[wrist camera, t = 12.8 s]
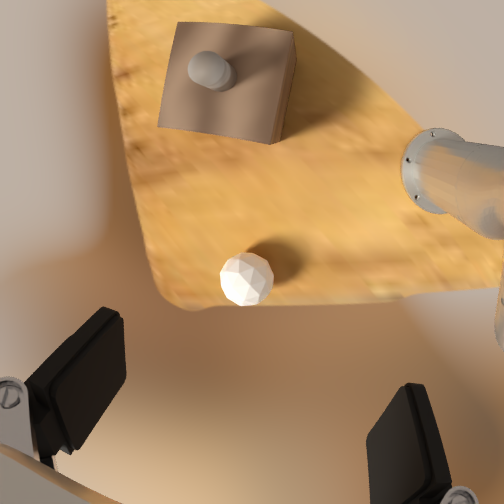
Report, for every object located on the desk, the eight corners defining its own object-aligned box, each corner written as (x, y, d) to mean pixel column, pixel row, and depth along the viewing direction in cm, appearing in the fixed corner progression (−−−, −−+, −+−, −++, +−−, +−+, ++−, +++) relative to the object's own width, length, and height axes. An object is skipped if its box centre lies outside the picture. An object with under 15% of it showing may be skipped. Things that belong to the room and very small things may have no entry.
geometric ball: (266, 260, 53) (293, 288, 47) (230, 293, 53) (252, 325, 47) (241, 232, 48) (268, 260, 42) (201, 269, 48) (222, 302, 42)
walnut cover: (296, 58, 38) (289, 13, 21) (279, 141, 43) (262, 147, 26) (210, 47, 39) (156, 6, 22) (195, 126, 44) (132, 127, 27)
